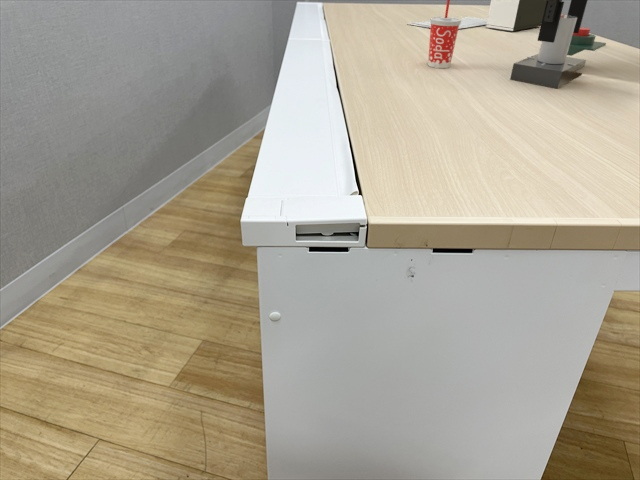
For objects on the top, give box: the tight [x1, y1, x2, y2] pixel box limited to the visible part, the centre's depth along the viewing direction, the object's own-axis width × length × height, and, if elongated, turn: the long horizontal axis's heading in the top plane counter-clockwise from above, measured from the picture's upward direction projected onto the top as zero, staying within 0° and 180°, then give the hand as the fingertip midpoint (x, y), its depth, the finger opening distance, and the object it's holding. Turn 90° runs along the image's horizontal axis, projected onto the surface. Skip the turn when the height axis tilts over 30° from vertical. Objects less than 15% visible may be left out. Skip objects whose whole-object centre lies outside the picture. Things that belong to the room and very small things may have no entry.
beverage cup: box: [427, 0, 461, 69], centre depth 99 cm, size 6×6×14 cm
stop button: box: [573, 26, 591, 36], centre depth 115 cm, size 4×4×2 cm
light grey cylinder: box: [537, 13, 577, 64], centre depth 92 cm, size 5×5×8 cm
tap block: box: [509, 53, 587, 89], centre depth 95 cm, size 14×9×3 cm, turn 139°
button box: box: [567, 33, 607, 57], centre depth 116 cm, size 10×10×4 cm
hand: (558, 36), depth 92 cm, fingers open, 13 cm apart
